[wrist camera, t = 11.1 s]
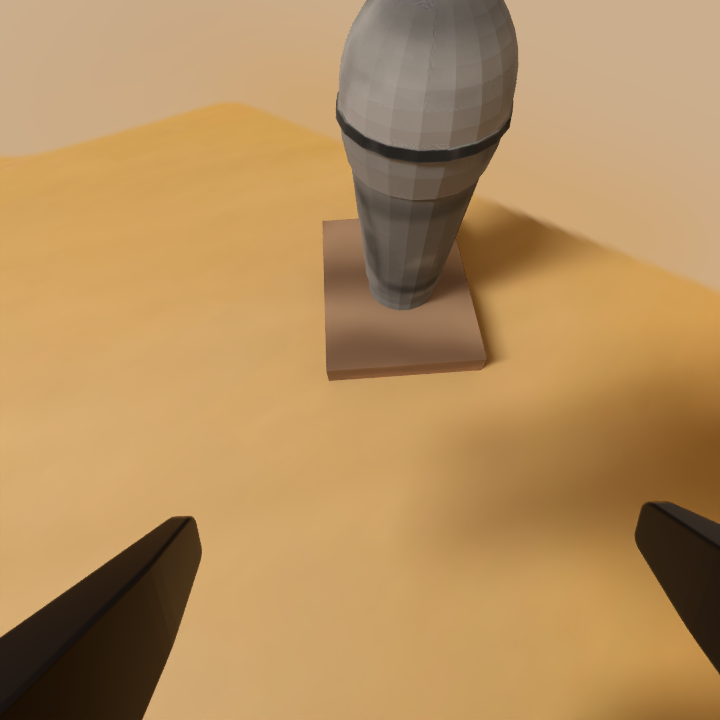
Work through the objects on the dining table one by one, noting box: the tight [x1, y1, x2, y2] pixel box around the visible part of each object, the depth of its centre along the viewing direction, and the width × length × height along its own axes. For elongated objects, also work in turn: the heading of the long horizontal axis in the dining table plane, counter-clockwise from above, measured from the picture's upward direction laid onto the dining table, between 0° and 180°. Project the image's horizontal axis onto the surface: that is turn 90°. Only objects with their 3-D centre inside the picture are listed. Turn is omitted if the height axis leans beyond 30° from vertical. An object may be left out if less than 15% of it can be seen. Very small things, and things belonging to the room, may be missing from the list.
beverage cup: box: [336, 0, 518, 310], centre depth 16 cm, size 7×7×20 cm
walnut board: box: [323, 219, 487, 381], centre depth 26 cm, size 13×10×2 cm
